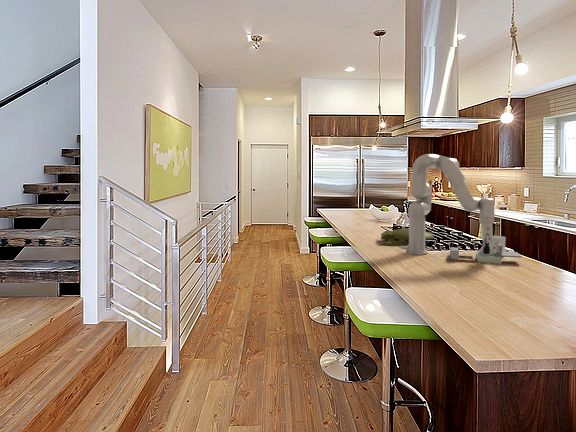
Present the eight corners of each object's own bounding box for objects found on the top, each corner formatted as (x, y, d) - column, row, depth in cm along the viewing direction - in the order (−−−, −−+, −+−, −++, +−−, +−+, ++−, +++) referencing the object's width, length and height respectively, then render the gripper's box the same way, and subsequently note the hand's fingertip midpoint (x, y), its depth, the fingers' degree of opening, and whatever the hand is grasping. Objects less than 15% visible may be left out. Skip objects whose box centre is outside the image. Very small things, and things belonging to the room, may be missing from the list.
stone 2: (450, 260, 272) (451, 250, 272) (450, 259, 276) (450, 249, 276) (458, 261, 271) (458, 250, 271) (457, 259, 275) (458, 249, 275)
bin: (477, 262, 268) (478, 256, 267) (475, 258, 279) (475, 252, 279) (501, 263, 264) (501, 257, 264) (498, 259, 276) (498, 253, 275)
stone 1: (449, 258, 278) (450, 248, 277) (450, 257, 282) (450, 247, 281) (457, 259, 276) (457, 248, 276) (457, 258, 280) (458, 247, 279)
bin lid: (497, 256, 265) (497, 246, 264) (494, 252, 276) (494, 242, 275) (521, 257, 261) (522, 247, 261) (517, 253, 273) (518, 243, 272)
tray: (448, 261, 272) (448, 258, 271) (447, 256, 284) (447, 254, 283) (474, 262, 268) (475, 260, 268) (472, 258, 280) (472, 255, 280)
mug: (503, 254, 290) (504, 236, 289) (505, 257, 282) (506, 238, 281) (481, 253, 293) (482, 235, 292) (483, 256, 285) (484, 237, 284)
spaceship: (381, 246, 321) (381, 231, 319) (380, 238, 351) (381, 225, 350) (436, 248, 314) (436, 233, 313) (431, 240, 344) (431, 226, 343)
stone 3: (477, 253, 271) (485, 245, 269) (477, 252, 275) (484, 244, 273) (483, 258, 270) (491, 250, 269) (482, 257, 274) (490, 249, 273)
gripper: (496, 222, 261) (495, 255, 262) (492, 218, 277) (491, 250, 278) (481, 222, 263) (480, 255, 264) (478, 218, 279) (477, 250, 280)
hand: (485, 252), depth 271 cm, fingers closed on stone 3, 4 cm apart
